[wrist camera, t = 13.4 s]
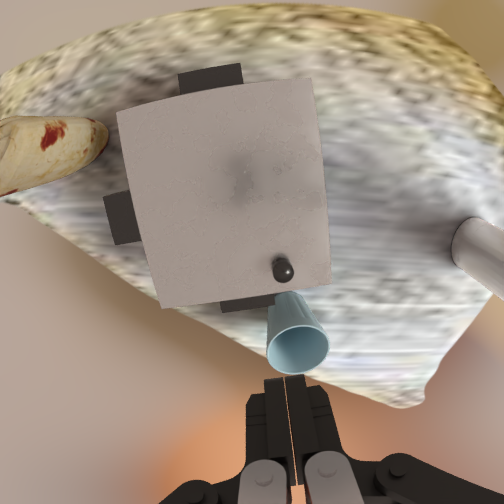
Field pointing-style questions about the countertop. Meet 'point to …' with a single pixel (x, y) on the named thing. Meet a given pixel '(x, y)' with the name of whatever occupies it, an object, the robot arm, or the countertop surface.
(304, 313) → the cup
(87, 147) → the food model
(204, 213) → the lid
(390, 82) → the countertop surface
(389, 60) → the countertop surface
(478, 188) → the countertop surface
